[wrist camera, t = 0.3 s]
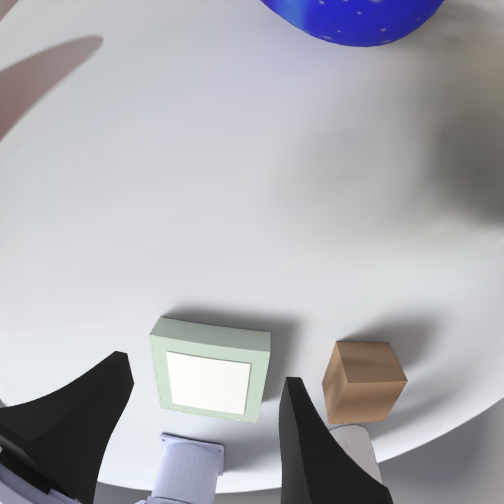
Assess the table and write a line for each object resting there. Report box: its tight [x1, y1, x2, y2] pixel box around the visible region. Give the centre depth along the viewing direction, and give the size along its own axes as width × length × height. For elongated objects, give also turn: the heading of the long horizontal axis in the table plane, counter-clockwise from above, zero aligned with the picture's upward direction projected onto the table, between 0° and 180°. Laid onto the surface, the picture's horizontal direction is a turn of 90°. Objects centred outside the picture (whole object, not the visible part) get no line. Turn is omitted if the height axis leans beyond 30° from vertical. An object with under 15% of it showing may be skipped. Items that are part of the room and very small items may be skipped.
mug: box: [329, 425, 383, 485], centre depth 21 cm, size 10×7×12 cm, turn 20°
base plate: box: [150, 317, 271, 423], centre depth 23 cm, size 9×9×3 cm
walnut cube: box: [322, 341, 408, 424], centre depth 21 cm, size 5×5×5 cm
